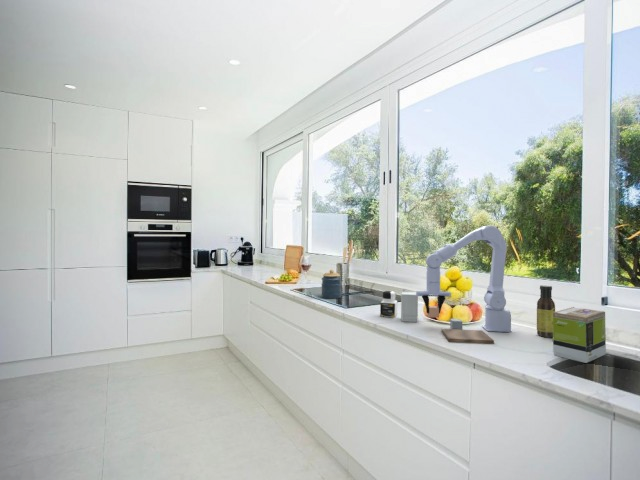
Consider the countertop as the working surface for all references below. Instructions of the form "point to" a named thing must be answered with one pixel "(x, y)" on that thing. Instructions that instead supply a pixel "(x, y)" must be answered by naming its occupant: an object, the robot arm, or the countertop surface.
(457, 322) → the slate block
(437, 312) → the terracotta block
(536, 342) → the countertop surface
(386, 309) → the medicine bottle
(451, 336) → the walnut board
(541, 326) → the sauce bottle
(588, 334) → the tea box
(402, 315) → the supplement box
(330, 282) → the canister
